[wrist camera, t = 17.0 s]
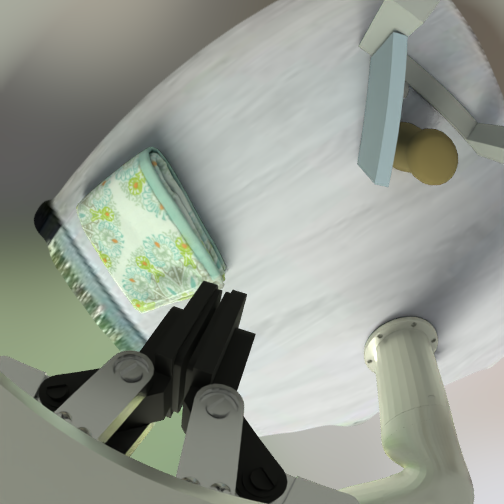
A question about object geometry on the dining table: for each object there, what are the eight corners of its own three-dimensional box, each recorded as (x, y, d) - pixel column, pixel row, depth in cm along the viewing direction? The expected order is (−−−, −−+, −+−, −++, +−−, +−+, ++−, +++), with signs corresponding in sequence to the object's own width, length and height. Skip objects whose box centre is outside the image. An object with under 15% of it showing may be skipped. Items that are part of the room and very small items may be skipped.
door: (370, 57, 26) (393, 32, 16) (394, 63, 26) (425, 42, 16) (357, 163, 32) (374, 184, 22) (380, 168, 31) (406, 191, 21)
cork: (434, 136, 29) (476, 146, 19) (416, 179, 31) (451, 205, 22) (391, 113, 29) (421, 111, 19) (373, 158, 32) (396, 175, 22)
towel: (148, 305, 50) (134, 322, 45) (85, 200, 43) (64, 209, 39) (236, 274, 43) (226, 293, 38) (163, 141, 37) (142, 145, 32)
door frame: (489, 139, 26) (569, 162, 12) (478, 155, 28) (556, 186, 14) (371, 30, 25) (404, -26, 11) (358, 46, 26) (386, -4, 12)
